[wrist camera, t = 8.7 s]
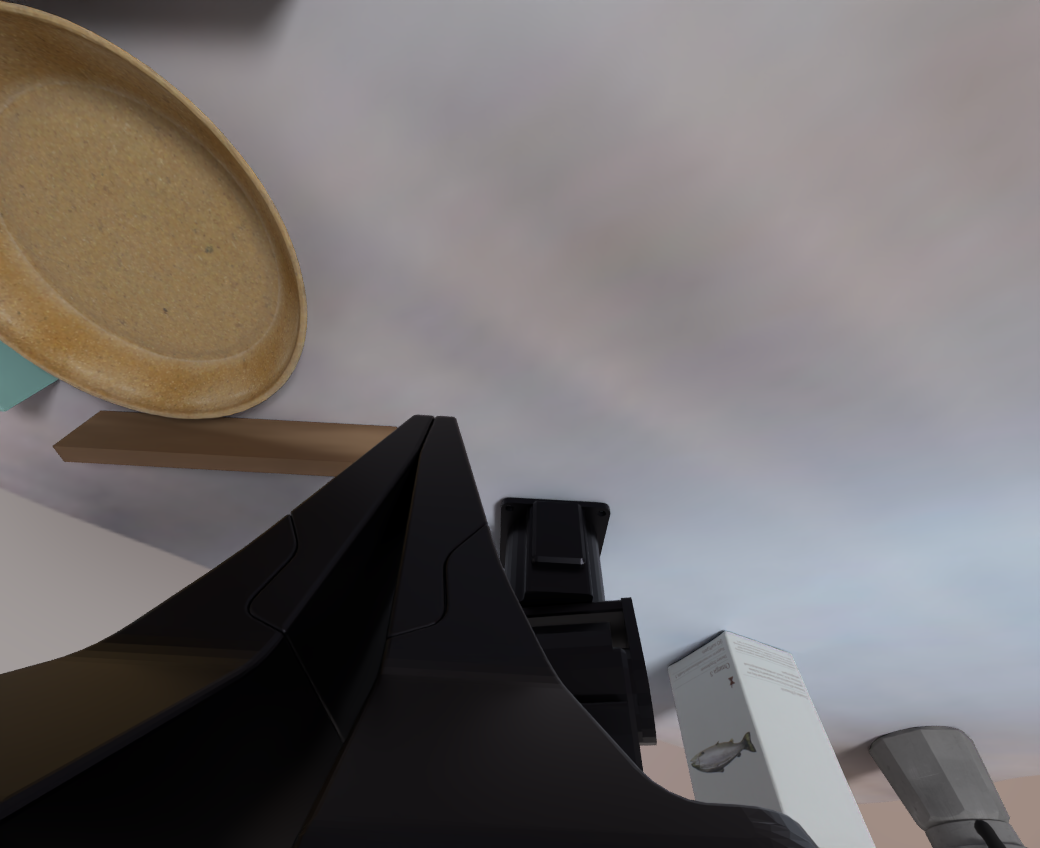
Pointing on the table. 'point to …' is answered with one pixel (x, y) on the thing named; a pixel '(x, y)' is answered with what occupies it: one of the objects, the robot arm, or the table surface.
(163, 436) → the lane walls
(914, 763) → the coffeepot
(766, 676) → the supplement box
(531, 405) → the table surface
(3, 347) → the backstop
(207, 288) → the plant saucer
